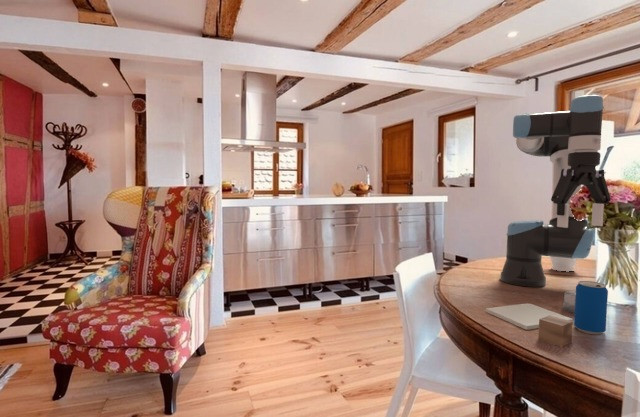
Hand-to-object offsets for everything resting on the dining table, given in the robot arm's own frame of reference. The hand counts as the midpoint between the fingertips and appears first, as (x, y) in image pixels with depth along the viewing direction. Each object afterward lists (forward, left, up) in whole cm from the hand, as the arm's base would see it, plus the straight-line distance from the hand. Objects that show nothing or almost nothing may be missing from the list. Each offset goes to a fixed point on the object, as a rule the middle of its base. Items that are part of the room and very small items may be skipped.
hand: (580, 226), depth 107 cm
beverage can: (+11, +12, -25) cm, 30 cm away
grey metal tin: (0, 0, -25) cm, 25 cm away
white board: (+18, 0, -25) cm, 31 cm away
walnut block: (+25, +14, -25) cm, 38 cm away
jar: (-45, -40, -25) cm, 65 cm away
